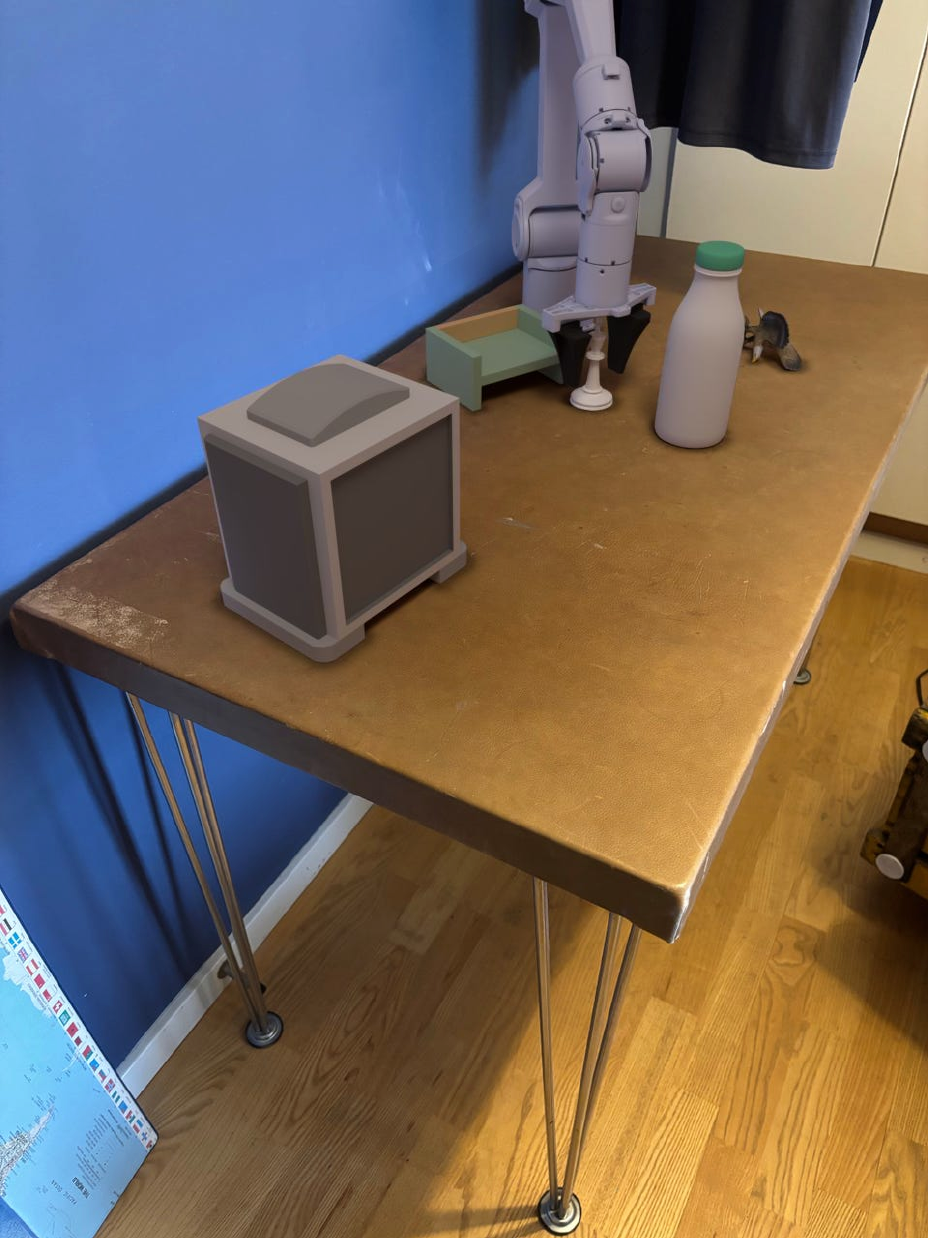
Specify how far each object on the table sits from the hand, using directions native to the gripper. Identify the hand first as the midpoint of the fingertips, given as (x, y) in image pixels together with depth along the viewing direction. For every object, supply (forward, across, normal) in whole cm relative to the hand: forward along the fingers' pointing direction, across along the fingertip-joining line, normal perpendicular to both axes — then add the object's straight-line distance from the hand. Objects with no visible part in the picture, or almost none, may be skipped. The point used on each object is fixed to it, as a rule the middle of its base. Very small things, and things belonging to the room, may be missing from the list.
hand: (593, 377), depth 105 cm
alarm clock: (+3, -40, -15) cm, 43 cm away
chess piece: (+3, 0, 0) cm, 3 cm away
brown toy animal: (+3, +26, -3) cm, 26 cm away
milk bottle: (+3, +4, -12) cm, 13 cm away
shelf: (+3, -6, +10) cm, 12 cm away
